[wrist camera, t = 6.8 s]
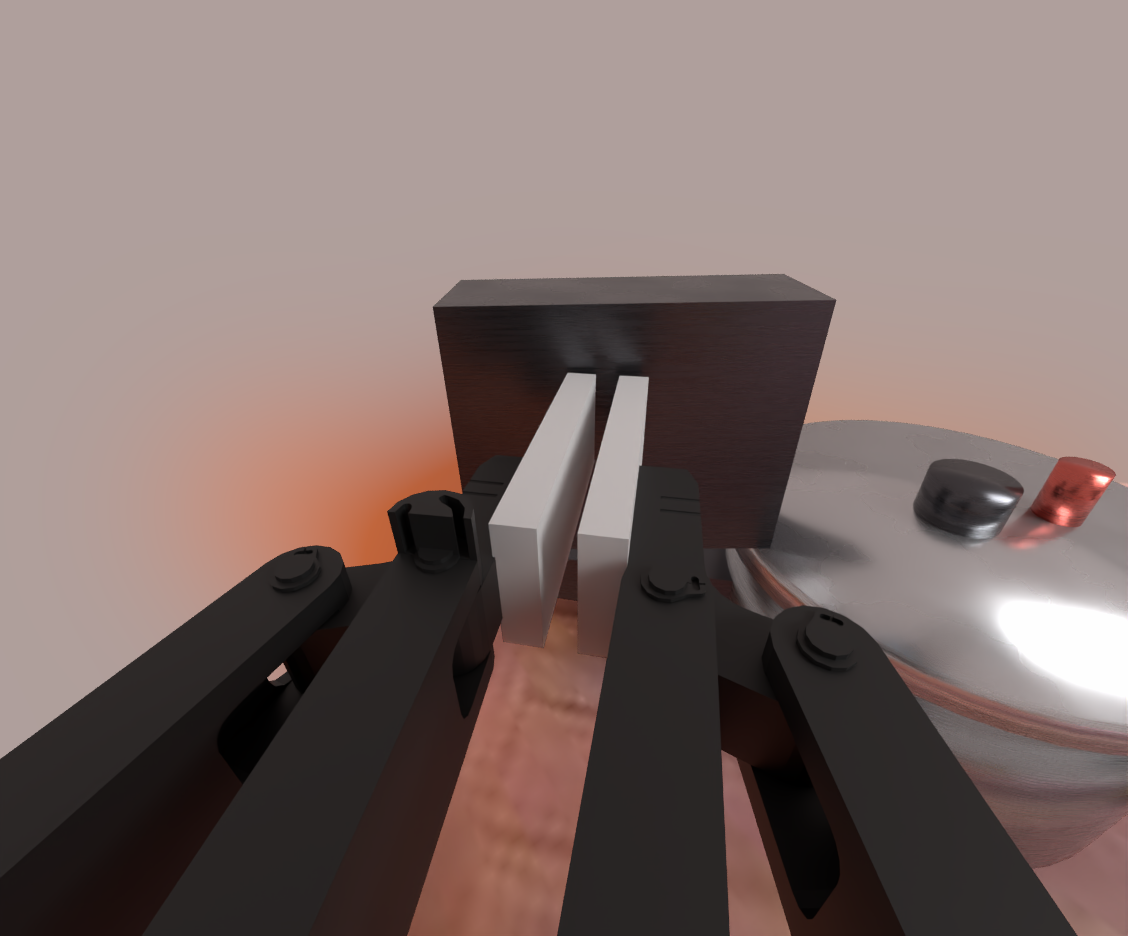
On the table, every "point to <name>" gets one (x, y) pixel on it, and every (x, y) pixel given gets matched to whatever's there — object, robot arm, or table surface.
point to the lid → (827, 487)
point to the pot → (981, 751)
